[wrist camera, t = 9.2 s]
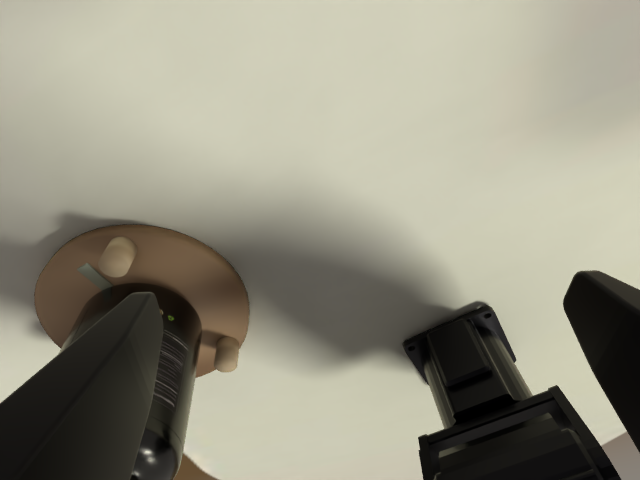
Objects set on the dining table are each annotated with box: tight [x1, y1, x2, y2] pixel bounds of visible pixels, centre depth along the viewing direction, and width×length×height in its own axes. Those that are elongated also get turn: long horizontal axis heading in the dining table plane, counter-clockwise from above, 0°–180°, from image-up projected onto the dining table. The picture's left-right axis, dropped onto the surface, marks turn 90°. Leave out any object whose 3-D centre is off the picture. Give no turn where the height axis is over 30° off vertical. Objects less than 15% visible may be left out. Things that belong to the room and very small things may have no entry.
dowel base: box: [34, 225, 249, 378], centre depth 25 cm, size 12×12×3 cm
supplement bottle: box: [58, 283, 202, 480], centre depth 20 cm, size 7×7×12 cm
